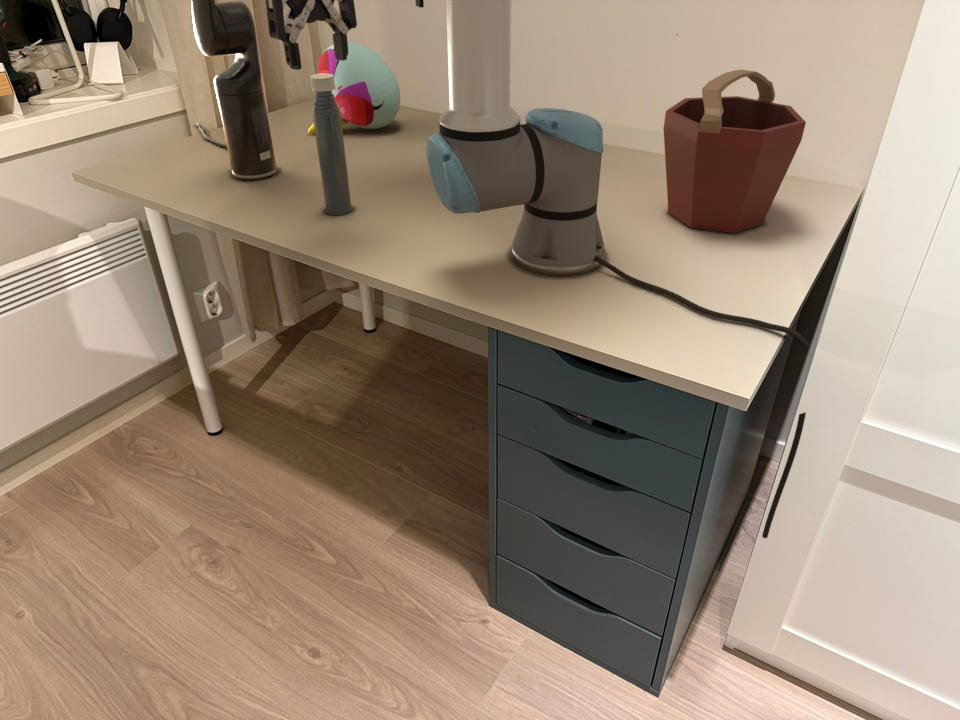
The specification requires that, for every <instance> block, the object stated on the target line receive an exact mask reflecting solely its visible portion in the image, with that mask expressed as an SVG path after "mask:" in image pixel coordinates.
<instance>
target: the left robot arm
mask: <svg viewBox="0 0 960 720" xmlns="http://www.w3.org/2000/svg"><path fill="white" fill-rule="evenodd" d="M335 1H337V3H338V9H339V10H337V9H336V7H335V6H334V4H335ZM190 4H191V16H192V24H193V32H194V38H195V41H196V43H197V46H198V48H199V50H200V52H201V53H202V54H203V55H204V56H206V57H208V58H218V57H226V56H234V55H235V58H234V60H233V62H232V63H231V64H230V65H229V66H228V67H227V68H226V69H224V70H222V71H221V72H219V73H217V74H216V75H215V76H214V78H213V85H214V86H213V87H214V91H215V94H216V100H217V104H218V108H219V109H218V110H219V113H220V117H221V124H222V127H223V128H222V129H223V134H224V140H225V143H223V142H220V141H219V140H216V139H214V138H211V137H209V136H208V135H207V133H206V132H205V130H204V129H203V127H202V125H201V123H200V122H196V123H195V128H198V129H199V132H200V133H201V135H202V136H203V137H204V138H205V139H206V140H208V141H210V142H211V143H214V144H216V145H218V146H220V147H223V148H225V149H227V153H228V159H229V162H230V167H231V174H232V176H233V177H234V178H236V179H240V180H261V179H265V178H268V177H271V176H274V175H275V174H276V173H277V172H278V166H277V162H276V157H275V156H276V155H275V152H274V151H275V150H274V144H273V138H272V133H271V128H270V122H269V116H268V110H267V106H266V105H267V104H266V99H265V94H264V93H265V92H264V88H263V87H264V86H263V81H262V79H263V78H262V77H263V76H262V67H261V60H260V53H259V44H258V36H257V35H258V33H257V28H256V23H255V20H254V16H253V14H252V11H251V9H250V8H249V6H248V5H247V3H246V2H244V1H240V0H237V1H236V0H233V1H223V2H216V0H190ZM286 6H287V7H288V11H287V12H286V15H285V16H284V10H285V8H286ZM265 9H266V19H267V26H268V35H269V37H270V38H271V39H275V40H278V41H281V42H282V44H283V49H284V56H285V62H286V64H287V66H289V68H290V69H292V70H295V71H298V70H301V69H302V60H301V54H300V46H299V45H300V44H299V43H298V42H297V41H298V38H299V35H300V33H301V31H302V30H303V29H304V28H305V27H306V24H312V23H313V24H314V23H315V22H317V21H318V22H325V23H326V24H328V26H329V27H330V29H331V30H332V31H333V32H334V33H332V42H333V45H334V52H335V58H336V59H337V60H341V61H343V60H346V59H347V56H348V42H349V41H348V33H349V31H351V30H352V29H356V28H357V25H358V21H357V15H356V6H355V0H265Z"/></svg>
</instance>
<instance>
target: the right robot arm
mask: <svg viewBox="0 0 960 720" xmlns="http://www.w3.org/2000/svg"><path fill="white" fill-rule="evenodd" d="M414 2H415V7H417V8H425V6H424V0H415V1H414ZM445 15H446V17H445V19H446V46H447V50H446V51H447V75H448V76H447V77H448V101H449V102H448V107H447V108H446V110H445V111H444V112H443V113H441V115H440V116H439V119H438V125H439V126H438V127H439V128H438V129H439V133H433V134H432V135H430V136H429V137H428V138H427V141H426V144H427V145H426V147H425V148H426V159H427V166H428V170H429V174H430V177H431V181H432V184H433V187H434V189H435V192H436V195H437V196H438V199H439V200H440V202H441V204H442V205H443V206H444V207H445V208H446V210H447V211H448V212H450V213H453V214H456V215H461V214H471V213H474V214H480V213H482V212H487V211H493V210H499V209H503V208H509V207H515V206H520V205H523V212H522V215H521V218H520V220H519V224H518V226H517V229H516V232H515V234H514V237H513V240H512V245H511V257H512V259H513V261H514V262H515V263H516V264H517V265H519V267H521V268H524V269H526V270H528V271H530V272H532V273H533V272H534V273H537V274H541V275H547V276H558V277H559V276H560V277H561V276H573V275H574V276H575V275H580V274H584V273H588V272H590V271H593V270H595V269H596V268H598V267H599V266H600V265H602V266H603V267H605V268H607V269H608V270H610V271H611V272H613V273H614V274H616V275H617V276H618V277H621V278H622V279H624V280H626V281H628V282H630V283H632V284H634V285H636V286H639V287H641V288H645V289H647V290H651V291H653V292H657V293H660V294H662V295H665V296H667V297H669V298H671V299H673V300H676V301H677V302H679V303H681V304H683V305H685V306H686V307H688V308H690V309H692V310H694V311H696V312H699V313H701V314H704V315H707V316H709V317H713V318H716V319H720V320H725V321H730V322H737V323H742V324H748V325H752V326H757V327H760V328H764V329H767V330H770V331H776V332H780V333H785V334H788V335H789V336H792V337H793V338H794V339H796V341H797V342H798V343H799V344H800V345H801V347H802V348H804V349H808V350H809V349H810V347H811V346H810V344H809V343H808V341H807V340H806V338H805V337H804V336H803V335H802V334H801V333H800V332H798V331H797V330H795V329H793V328H790V327H788V326H784V325H779V324H775V323H769V322H767V321H762V320H758V319H756V318H751V317H745V316H740V315H739V316H738V315H734V314H733V315H732V314H728V313H723V312H718V311H715V310H711V309H708V308H706V307H703V306H701V305H699V304H696V303H694V302H692V301H691V300H689V299H687V298H685V297H683V296H682V295H680V294H678V293H676V292H673V291H671V290H669V289H667V288H664V287H660V286H658V285H655V284H653V283H649V282H647V281H643V280H640V279H638V278H636V277H633V276H632V275H630V274H628V273H626V272H624V271H622V270H621V269H619V268H618V267H616V266H615V265H613V264H612V263H610V262H608V261H606V260H605V259H604V258H605V242H604V239H603V233H602V230H601V226H600V222H599V218H598V213H597V212H598V199H599V188H600V179H601V178H600V177H601V167H602V159H603V156H602V155H603V154H604V129H603V126H602V124H601V123H600V121H598V119H596V118H595V117H592V116H590V115H589V114H585V113H582V112H578V111H574V110H568V109H563V108H562V109H561V108H553V107H552V108H551V107H548V108H547V107H538V108H534V109H531V110H529V111H528V112H527V113H526V115H525V118H524V119H525V123H523V124H522V123H521V115H519V113H517V112H516V111H515V109H513V107H512V106H511V64H512V63H511V61H512V60H511V59H512V55H511V53H512V46H511V45H512V0H445ZM806 414H807V412H806V411H804V412H802V413H799V414H798V419H797V424H796V429H795V432H794V436H793V439H792V443H791V447H790V450H789V453H788V456H787V460H786V463H785V466H784V469H783V471H782V474H781V477H780V480H779V483H778V485H777V487H776V491H775V493H774V496H773V499H772V503H771V505H770V508H769V511H768V513H767V518H766V521H765V524H764V528H763V531H762V535H761V537H762V538H764V539H767V538H768V537H769V534H770V531H771V530H770V529H771V527H772V524H773V520H774V517H775V514H776V511H777V508H778V505H779V502H780V499H781V497H782V494H783V491H784V488H785V486H786V483H787V480H788V477H789V475H790V472H791V469H792V466H793V463H794V460H795V458H796V455H797V451H798V448H799V444H800V441H801V436H802V433H803V429H804V425H805V420H806Z"/></svg>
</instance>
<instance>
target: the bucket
mask: <svg viewBox="0 0 960 720" xmlns="http://www.w3.org/2000/svg"><path fill="white" fill-rule="evenodd" d="M746 77H747V78H748V79H749V80H750V81H751V82H752V83H754V84H755V85H756V88H757V91H758V98H757V99H754V98H750V97H744V96H739V95H736V96H733V95H732V96H731V95H730V96H722V92H724V91H725V90H726V89H727V88H728V87H729V86H730V85H732V84H734V83H735V82H737V81H738V80H740V79H743V78H746ZM701 96H702V97H685V98H683V99H682V100H680V101H679V102H677V103H676V104H674V105H672V106H670V107H669V108H668V109H667V110H665V115H664V122H663V143H664V156H665V157H664V159H665V161H664V162H665V177H666V179H665V180H666V192H667V193H666V194H667V196H666V197H667V212H668V214H670V215H671V216H672V217H674V218H676V219H677V220H679V221H680V222H681V223H683V224H684V225H686V226H687V227H689V228H691V229H698V230H707V231H715V232H721V233H732V234H735V233H739V232H742V231H745V230H749V229H751V228H754V227H757V226H760V225H762V224H764V222H765V219H766V218H767V215H768V213H769V211H770V209H771V207H772V205H773V202H774V201H775V198H776V196H777V195H778V192H779V189H780V187H781V185H782V183H783V181H784V179H785V177H786V175H787V173H788V170H789V168H790V167H791V164H792V162H793V159H794V158H795V155H796V153H797V151H798V150H799V149H798V148H799V147H800V145H801V142H802V139H803V135H804V132H805V128H806V125H807V124H806V120H805V119H804V118H803V117H802V116H801V115H800V114H799V113H798V112H797V111H796V110H795V109H794V108H793V107H792V106H791V105H787V104H781V103H776V102H774V101H775V98H776V92H775V88H774V83H773V82H772V81H771V80H769V79H768V78H767V77H766V76H765V75H763V74H761V73H760V72H758V71H755V70H748V69H735V70H732V71H727V72H724V73H722V74H720V75H717V76H716V77H714V78H713V79H711V80H709V81H708V82H707V83H706V84H705V85H704V86H703V87H702V88H701Z"/></svg>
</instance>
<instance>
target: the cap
mask: <svg viewBox="0 0 960 720" xmlns="http://www.w3.org/2000/svg"><path fill="white" fill-rule="evenodd" d="M309 79H310V86H311V90H312V91H314V92H316V91H318V92H325V91H331V90H334V89H335V84H334V76H333V75H332V74H327V73H321V74H318V73H315V74H311V75H310V76H309Z"/></svg>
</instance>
